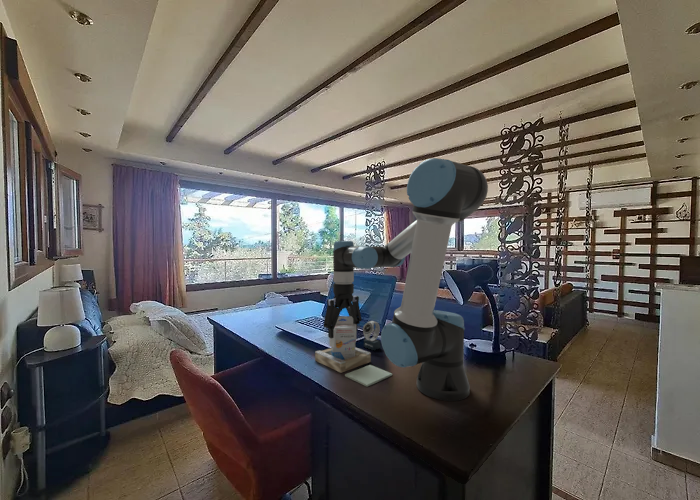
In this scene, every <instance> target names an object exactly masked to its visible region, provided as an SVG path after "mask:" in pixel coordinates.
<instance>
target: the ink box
mask: <svg viewBox="0 0 700 500" xmlns="http://www.w3.org/2000/svg"><path fill="white" fill-rule="evenodd" d="M334 329H336V348H333V347H331V355H332V356H334V357H337V358H339V359H341V360H346V359H349V358H352V357H355V347H356V342H355V326H354V324H353V317H352V316H349V315H348V316H347V315H341V316H340V315H339V317H338V320H337V322H336V325H335V328H334Z"/></svg>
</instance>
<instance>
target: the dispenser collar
mask: <svg viewBox="0 0 700 500" xmlns="http://www.w3.org/2000/svg"><path fill="white" fill-rule="evenodd" d="M331 348H332V347H331ZM331 348H326V349H324V350H323V349H322V350H315V353H314V355H315V356H314V361H315V362H317V363H319V364H321V365H324V366H326V367H328V368H329V369H332V370H334V371H337V372H338V373H341V374H342V373H344V372H347V371H350V370H353V369H355V368H357V367H361V366H363V365H366V364H368V363H372V361H371V360H372V359H371V355H372V353H371V352H370V351H367V350H364V349H362V348H358V347H356V346H355V357H352V358H349V359H346V360H341V359H339V358H337V357H334V356H332V355H331Z"/></svg>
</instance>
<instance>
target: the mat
mask: <svg viewBox="0 0 700 500" xmlns="http://www.w3.org/2000/svg"><path fill="white" fill-rule="evenodd" d="M344 376H345V378H348V379H350V380H352V381H354V382H356V383H358V384H361V385H363V386H364V387H368V388H369V386H372V385H375V384H376V383H378V382H382V381H383V380H385V379H387V378H390V377H393V373H391V372H389V371H387V370H384V369H382V368H380V367H377V366H374V365H372V364H369V365H366V366H364V367H361V368H359V369H355V370H352V371H351V372H347V373H344Z"/></svg>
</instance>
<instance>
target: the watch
mask: <svg viewBox="0 0 700 500" xmlns="http://www.w3.org/2000/svg"><path fill="white" fill-rule="evenodd" d="M380 331H381V327H380V324H379V322H377V321H374V320H369V321H367V322H366V323H365V324H364V325H363V327H362V333H363V336H364V338H365V339H363V348H364V347H365V349H367V348H368V349H367V350H370V349H371V351H373V350H374V351H376V349H377V350H378V349H381V339H378V337H379V335H380V333H381V332H380ZM372 333H373V334H372ZM371 334H372V337H371Z"/></svg>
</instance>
